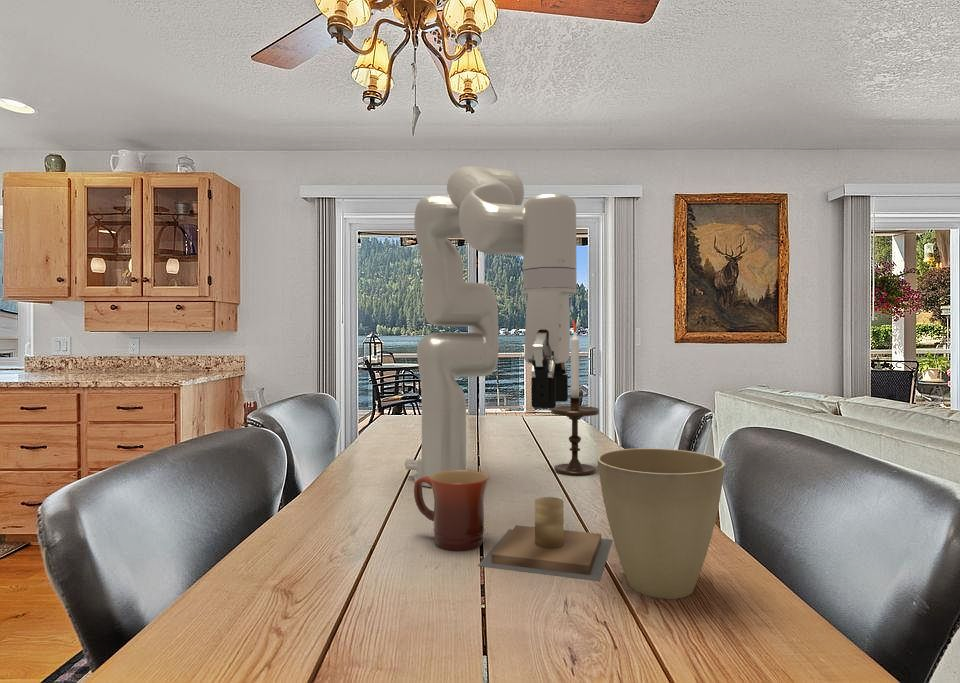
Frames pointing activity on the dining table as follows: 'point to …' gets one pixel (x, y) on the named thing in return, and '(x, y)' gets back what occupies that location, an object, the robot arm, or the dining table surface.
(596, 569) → the mat
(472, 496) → the mug
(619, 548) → the plant pot
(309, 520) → the dining table surface
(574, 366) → the candlestick
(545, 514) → the lid
